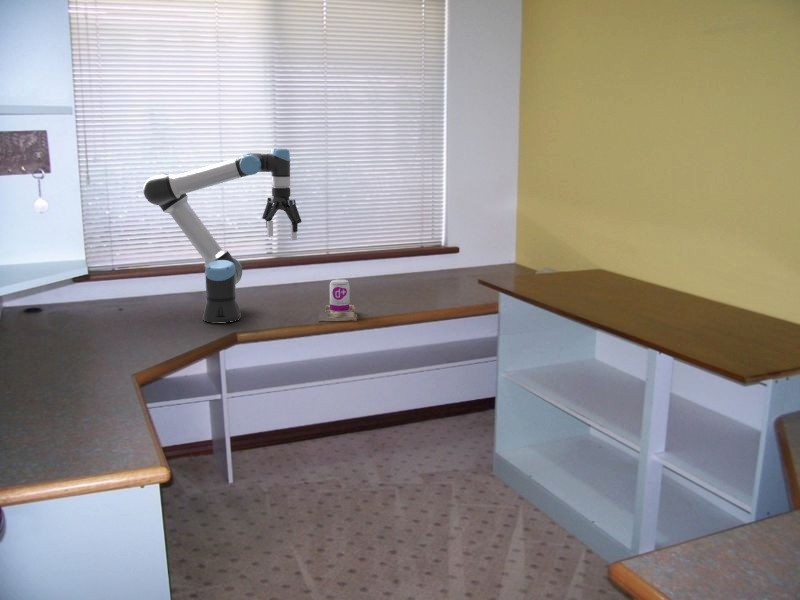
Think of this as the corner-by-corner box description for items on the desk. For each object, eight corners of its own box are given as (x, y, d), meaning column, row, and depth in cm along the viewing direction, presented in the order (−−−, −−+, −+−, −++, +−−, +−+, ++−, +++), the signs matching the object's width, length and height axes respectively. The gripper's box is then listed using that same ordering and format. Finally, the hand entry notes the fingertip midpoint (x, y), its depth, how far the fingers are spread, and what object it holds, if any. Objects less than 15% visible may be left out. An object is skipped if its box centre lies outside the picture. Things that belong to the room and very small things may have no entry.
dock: (318, 322, 307) (318, 313, 306) (317, 312, 321) (317, 305, 320) (358, 321, 309) (358, 313, 308) (354, 312, 324) (354, 304, 323)
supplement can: (348, 318, 311) (348, 283, 308) (328, 318, 311) (328, 282, 308) (350, 313, 319) (350, 279, 316) (330, 313, 319) (330, 278, 316)
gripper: (309, 188, 306) (310, 240, 310) (266, 184, 320) (267, 234, 325) (296, 189, 300) (297, 242, 305) (253, 185, 314) (254, 236, 319)
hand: (281, 238), depth 315 cm, fingers open, 13 cm apart
